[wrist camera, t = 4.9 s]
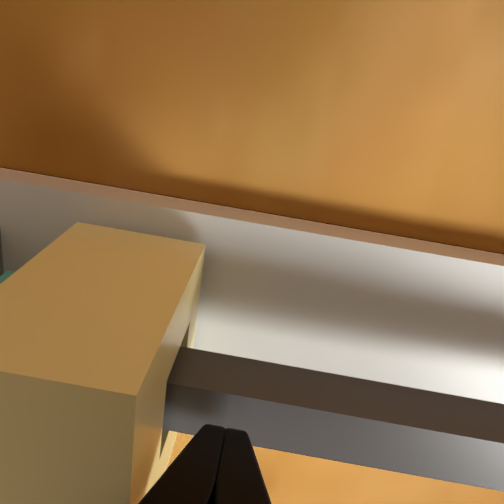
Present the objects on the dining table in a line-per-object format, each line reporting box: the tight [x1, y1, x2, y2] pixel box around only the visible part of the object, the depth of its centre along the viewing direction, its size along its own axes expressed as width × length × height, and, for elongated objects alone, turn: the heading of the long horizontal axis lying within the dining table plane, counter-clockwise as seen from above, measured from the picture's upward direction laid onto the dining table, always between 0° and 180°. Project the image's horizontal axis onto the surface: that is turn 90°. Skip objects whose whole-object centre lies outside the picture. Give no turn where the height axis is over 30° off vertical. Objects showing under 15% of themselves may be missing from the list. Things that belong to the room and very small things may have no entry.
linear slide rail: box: [0, 167, 504, 491], centre depth 10 cm, size 22×6×5 cm, turn 81°
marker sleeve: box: [0, 222, 206, 504], centre depth 9 cm, size 3×5×5 cm, turn 171°
